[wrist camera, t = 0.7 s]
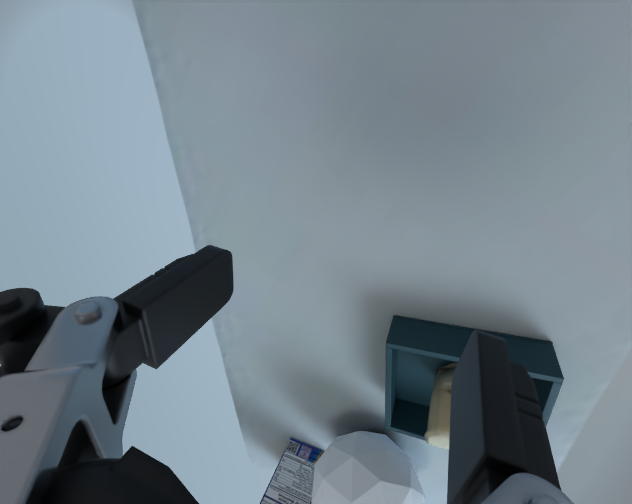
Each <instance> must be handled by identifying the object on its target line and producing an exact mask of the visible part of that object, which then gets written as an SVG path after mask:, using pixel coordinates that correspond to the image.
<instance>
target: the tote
mask: <svg viewBox="0 0 632 504" xmlns="http://www.w3.org/2000/svg"><path fill="white" fill-rule="evenodd" d="M474 330H477V329H471V328H465V327H459V326H453V325H447V324H441V323H436V322H430V321H424V320H418V319H412V318H406V317H400V316H393V320H392V323H391V327H390V330H389V334H388V337H387V341H386V393H385V428H386V429H389V430H392V431H396V432H399V433H402V434H405V435H409V436H412V437H415V438H419V439H422V440H425V438H424V435H425V433H426V432H427V426H428V417H429V408H430V400H431V394H432V390H433V385H434V381H435V375H436V372H437V369H438V368H439V367H444V366H448V365H450V364H452V363H458V362H459V359H460V357H461V355H462V353H463V351H464V349H465V347H466V345H467V342H468V340H469V338H470V336H471V334H472V332H473V331H474ZM478 331H481V332H484V333H487V334H491V335H494V336H497V337H500V338H503V339H505V341H506V344H507V350H508V356H509V360H510V361H513V362H516V363H519V364H522V365H523V366H524V368H525V369H526V371H527V372H528V374H529V375H530V377H531V378H532V380H533V381H534V383H535V386H536V390H537V394H538V398H539V405H540V406H541V410H542V414H543V419H542V420H543V421H544V423H545V427H546V425H547V422H548V420H549V417H550V415H551V412H552V409H553V407H554V404H555V401H556V399H557V396H558V393H559V391H560V388H561V385H562V382H563V380H564V378H563V375H562V372H561V369H560V366H559V362H558V359H557V356H556V353H555V350H554V347H553V343H552V342H548V341H543V340H537V339H531V338H525V337H519V336H513V335H507V334H501V333H495V332H489V331H483V330H478Z"/></svg>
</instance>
